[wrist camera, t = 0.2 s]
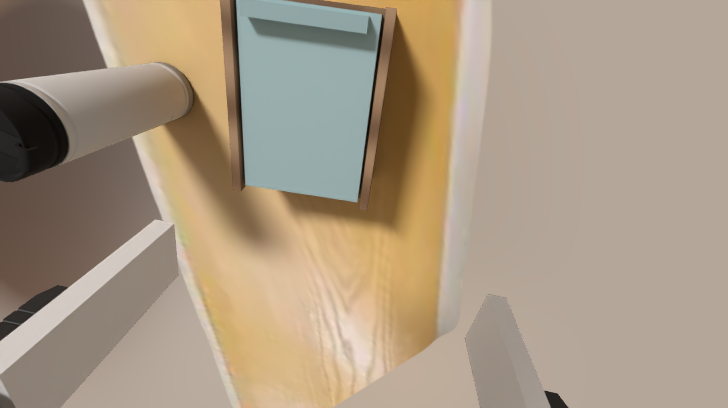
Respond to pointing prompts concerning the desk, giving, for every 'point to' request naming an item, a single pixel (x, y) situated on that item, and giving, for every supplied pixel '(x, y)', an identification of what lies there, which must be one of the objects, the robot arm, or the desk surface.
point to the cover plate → (306, 95)
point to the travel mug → (84, 113)
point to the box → (234, 88)
